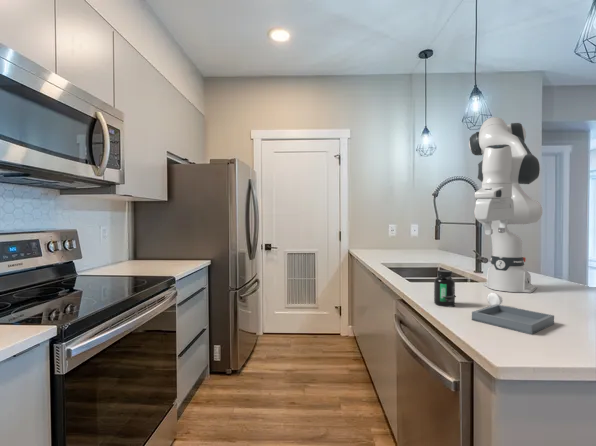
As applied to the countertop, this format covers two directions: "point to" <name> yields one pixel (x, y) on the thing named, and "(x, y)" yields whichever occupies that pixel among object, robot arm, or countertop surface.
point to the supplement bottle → (443, 288)
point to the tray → (513, 318)
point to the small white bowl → (494, 299)
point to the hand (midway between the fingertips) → (495, 233)
